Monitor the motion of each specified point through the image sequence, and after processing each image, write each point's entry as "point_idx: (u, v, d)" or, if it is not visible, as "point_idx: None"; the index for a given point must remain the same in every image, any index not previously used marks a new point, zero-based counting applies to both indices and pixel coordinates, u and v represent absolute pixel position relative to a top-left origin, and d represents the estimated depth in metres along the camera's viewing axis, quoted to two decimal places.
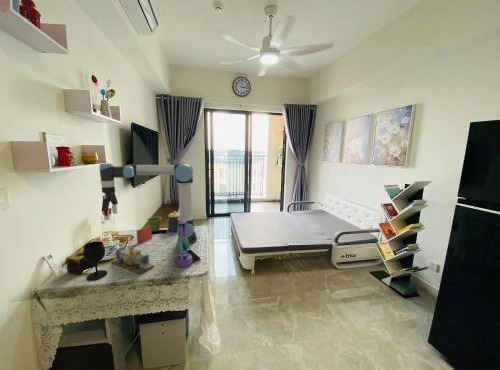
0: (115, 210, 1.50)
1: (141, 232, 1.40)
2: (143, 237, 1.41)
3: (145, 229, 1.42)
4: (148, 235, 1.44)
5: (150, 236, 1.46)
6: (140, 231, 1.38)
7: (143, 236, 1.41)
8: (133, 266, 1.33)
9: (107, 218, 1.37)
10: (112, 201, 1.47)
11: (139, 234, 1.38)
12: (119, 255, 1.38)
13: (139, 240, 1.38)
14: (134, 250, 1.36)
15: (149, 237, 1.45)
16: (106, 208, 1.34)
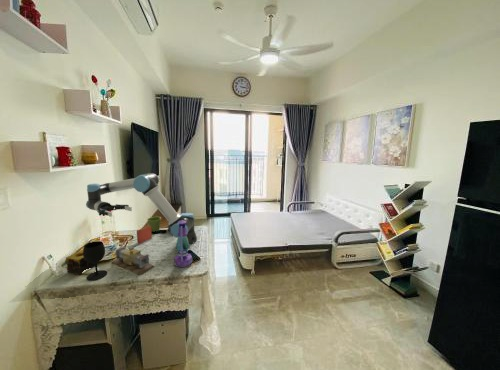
0: (128, 208, 1.49)
1: (141, 232, 1.40)
2: (143, 237, 1.41)
3: (145, 229, 1.42)
4: (148, 235, 1.44)
5: (150, 236, 1.46)
6: (140, 231, 1.38)
7: (143, 236, 1.41)
8: (133, 266, 1.33)
9: (109, 213, 1.36)
10: (120, 208, 1.51)
11: (139, 234, 1.38)
12: (119, 255, 1.38)
13: (139, 240, 1.38)
14: (134, 250, 1.36)
15: (149, 237, 1.45)
16: (99, 211, 1.37)
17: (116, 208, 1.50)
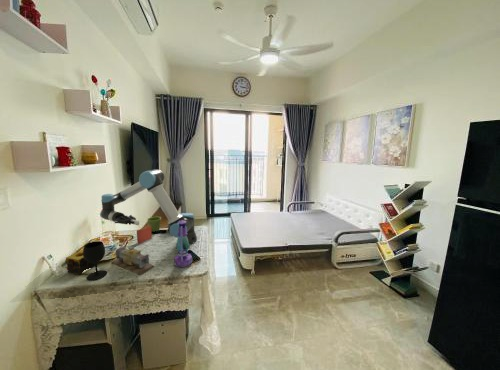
0: None
1: (141, 232, 1.40)
2: (143, 237, 1.41)
3: (145, 229, 1.42)
4: (148, 235, 1.44)
5: (150, 236, 1.46)
6: (140, 231, 1.38)
7: (143, 236, 1.41)
8: (133, 266, 1.33)
9: (136, 222, 1.44)
10: (129, 220, 1.50)
11: (139, 234, 1.38)
12: (119, 255, 1.38)
13: (139, 240, 1.38)
14: (134, 250, 1.36)
15: (149, 237, 1.45)
16: (125, 220, 1.45)
17: None
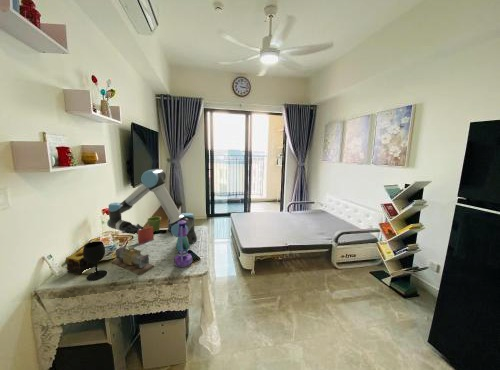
0: None
1: (142, 233, 1.39)
2: (144, 237, 1.40)
3: (146, 229, 1.41)
4: (149, 236, 1.44)
5: (152, 237, 1.45)
6: (141, 231, 1.38)
7: (144, 237, 1.41)
8: (133, 266, 1.33)
9: None
10: None
11: (140, 234, 1.38)
12: (119, 255, 1.38)
13: (140, 240, 1.38)
14: (134, 250, 1.36)
15: (151, 238, 1.44)
16: (133, 230, 1.43)
17: (134, 229, 1.49)
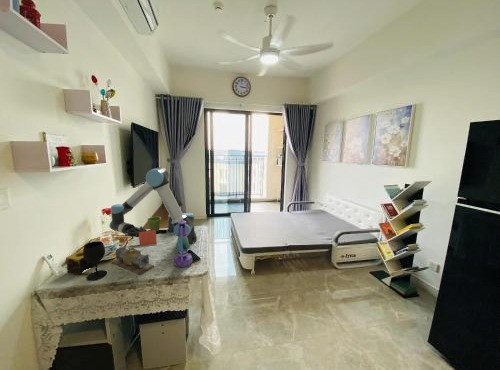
0: None
1: (143, 236, 1.35)
2: (145, 241, 1.36)
3: (148, 233, 1.36)
4: (152, 240, 1.37)
5: (155, 241, 1.38)
6: (141, 234, 1.34)
7: (146, 240, 1.36)
8: (133, 266, 1.33)
9: None
10: None
11: (140, 236, 1.34)
12: (119, 255, 1.38)
13: (140, 242, 1.35)
14: (134, 250, 1.36)
15: (153, 242, 1.38)
16: (136, 233, 1.39)
17: None
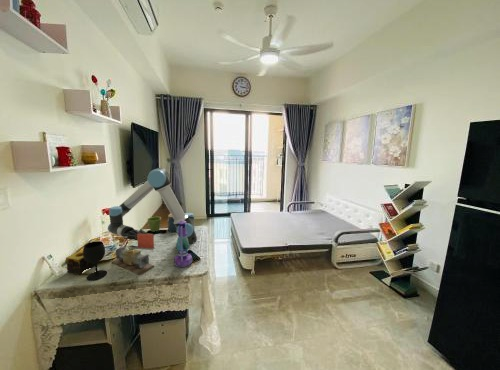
0: None
1: (141, 238, 1.32)
2: (143, 243, 1.32)
3: (145, 236, 1.31)
4: (149, 244, 1.32)
5: (151, 246, 1.32)
6: (139, 236, 1.32)
7: (143, 242, 1.32)
8: (133, 266, 1.33)
9: None
10: None
11: (138, 238, 1.32)
12: (119, 255, 1.38)
13: (138, 244, 1.33)
14: (134, 250, 1.36)
15: (150, 246, 1.32)
16: (136, 236, 1.34)
17: None
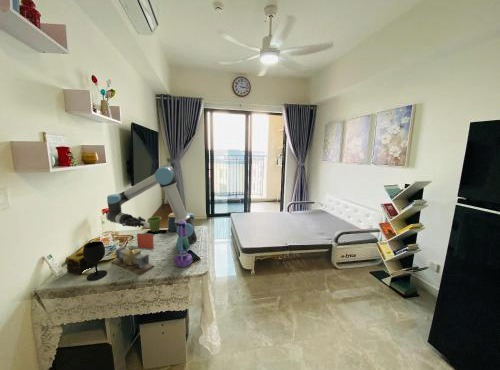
0: None
1: (141, 238, 1.32)
2: (142, 243, 1.32)
3: (145, 236, 1.31)
4: (148, 244, 1.32)
5: (151, 246, 1.32)
6: (139, 236, 1.31)
7: (143, 243, 1.32)
8: (133, 266, 1.33)
9: (146, 224, 1.31)
10: (138, 222, 1.37)
11: (138, 238, 1.32)
12: (119, 255, 1.38)
13: (138, 244, 1.33)
14: (134, 250, 1.36)
15: (149, 246, 1.32)
16: (134, 222, 1.32)
17: None
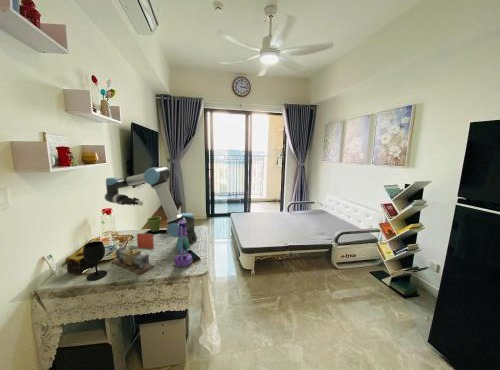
0: None
1: (141, 238, 1.32)
2: (142, 243, 1.32)
3: (145, 236, 1.31)
4: (148, 244, 1.32)
5: (151, 246, 1.32)
6: (139, 236, 1.31)
7: (143, 243, 1.32)
8: (133, 266, 1.33)
9: (139, 203, 1.49)
10: None
11: (138, 238, 1.32)
12: (119, 255, 1.38)
13: (138, 244, 1.33)
14: (134, 250, 1.36)
15: (149, 246, 1.32)
16: (129, 201, 1.50)
17: None
